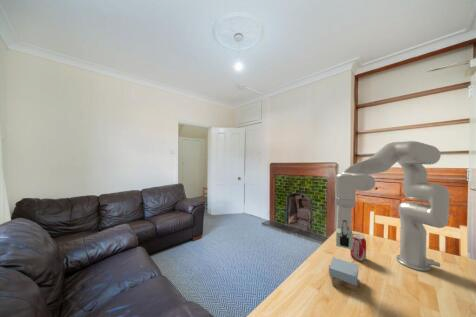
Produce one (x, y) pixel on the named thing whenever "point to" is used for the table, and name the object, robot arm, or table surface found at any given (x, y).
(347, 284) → the tower base
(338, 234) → the green cube
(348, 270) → the tower top
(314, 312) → the table surface
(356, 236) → the soda can
